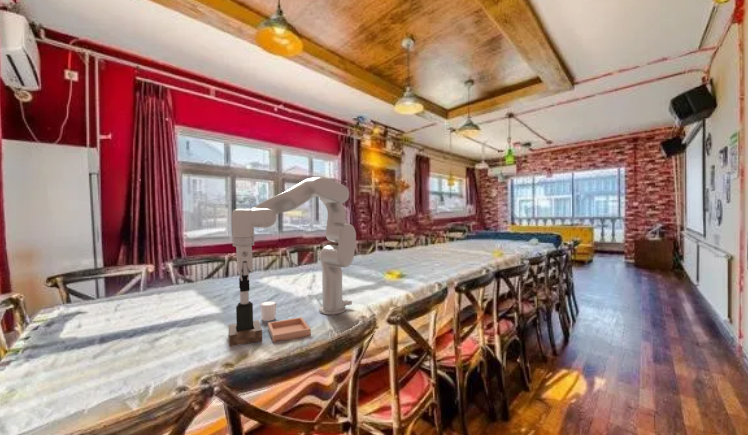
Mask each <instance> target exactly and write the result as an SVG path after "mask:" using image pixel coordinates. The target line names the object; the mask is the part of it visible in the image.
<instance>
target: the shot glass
mask: <svg viewBox="0 0 748 435" xmlns="http://www.w3.org/2000/svg"><path fill="white" fill-rule="evenodd" d="M276 311H277V301H274V300H268V301H263V302H261V303H260V313H261V320H262V321H264V322H270V321H273V320H275V319H276V314H277V312H276Z"/></svg>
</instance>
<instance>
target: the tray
mask: <svg viewBox="0 0 748 435" xmlns="http://www.w3.org/2000/svg"><path fill="white" fill-rule="evenodd" d="M267 330H268V333H269V335H270V338H271V340H272V343H277V342H282V341H287V340H293V339H297V338H303V337H307V336H311V333H312V332H311V327H310V326H309V324H308V323H307V322H306V321H305V319H304V318H303V317H301V316H300V317H296V318H295V317H294V318H289V319H282V320H277V321H271V322H270V321H269V322H267Z"/></svg>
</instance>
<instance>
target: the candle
mask: <svg viewBox="0 0 748 435" xmlns="http://www.w3.org/2000/svg"><path fill="white" fill-rule="evenodd" d="M249 291H250V290H249ZM249 291H244V292H241V291H240V290H239V295H240V297H239V299H240V300H239V303H238V304H237V305H236V306H235V307H236V308H235V311H236V313H235V317H236V319H235V320H236V324H237V332H239V331H245V330H251V329H253V321H254V306H253V305H254V304H253V302H251V301H250V300H249V299H250V298H249V297H250V296H249V295H250V294H249Z"/></svg>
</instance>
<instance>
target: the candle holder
mask: <svg viewBox="0 0 748 435" xmlns="http://www.w3.org/2000/svg"><path fill="white" fill-rule="evenodd" d="M261 341H262V342H263V329H262V326H261V324H260V320H259V319H258V320H253V329H251V330H245V331H239V332H237V323H233V324H228V342H229V347H235V345H236V346H240V345H247V344H251V343H257V342H261Z"/></svg>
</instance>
